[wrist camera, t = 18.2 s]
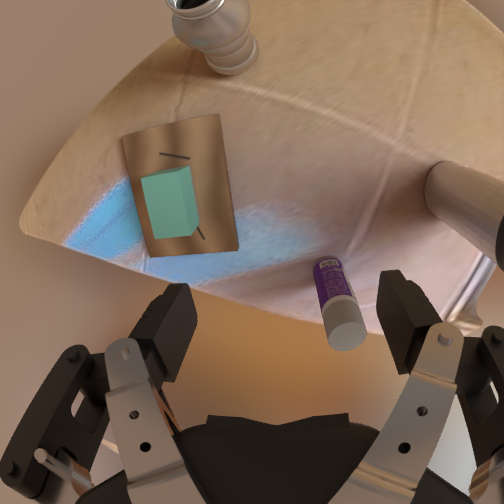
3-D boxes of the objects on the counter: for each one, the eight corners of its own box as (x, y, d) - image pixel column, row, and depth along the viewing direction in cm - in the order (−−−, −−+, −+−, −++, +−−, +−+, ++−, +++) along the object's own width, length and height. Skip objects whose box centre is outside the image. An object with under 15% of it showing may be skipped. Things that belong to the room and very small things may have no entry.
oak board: (219, 114, 32) (217, 113, 31) (239, 246, 40) (237, 251, 39) (127, 135, 34) (121, 136, 32) (153, 253, 42) (149, 257, 41)
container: (307, 275, 42) (318, 345, 28) (323, 250, 40) (343, 315, 26) (332, 286, 42) (351, 355, 29) (348, 263, 40) (376, 329, 27)
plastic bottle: (199, 59, 29) (126, 7, 11) (236, 26, 26) (198, -53, 8) (233, 87, 30) (186, 48, 13) (271, 54, 28) (266, -17, 10)
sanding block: (190, 164, 34) (178, 171, 29) (200, 221, 37) (190, 235, 33) (156, 170, 35) (140, 178, 30) (168, 225, 38) (154, 239, 33)
